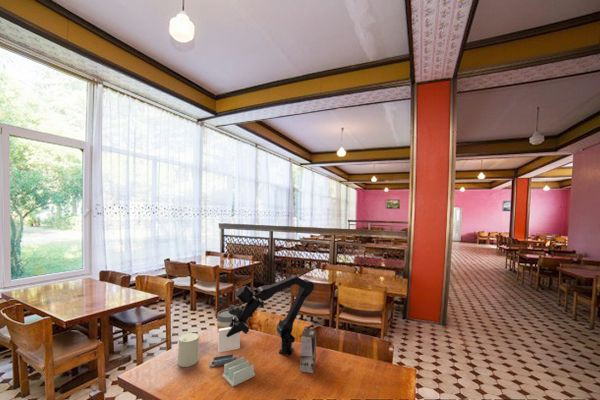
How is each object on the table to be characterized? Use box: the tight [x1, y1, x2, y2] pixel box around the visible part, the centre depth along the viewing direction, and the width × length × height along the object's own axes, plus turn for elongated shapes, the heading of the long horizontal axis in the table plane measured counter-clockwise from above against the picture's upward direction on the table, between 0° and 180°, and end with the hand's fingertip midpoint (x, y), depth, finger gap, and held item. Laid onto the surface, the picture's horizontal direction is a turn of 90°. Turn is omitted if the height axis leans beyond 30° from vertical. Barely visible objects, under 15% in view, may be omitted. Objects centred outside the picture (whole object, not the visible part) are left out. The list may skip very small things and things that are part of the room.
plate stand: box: [208, 353, 238, 369], centre depth 126 cm, size 13×4×2 cm, turn 112°
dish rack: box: [222, 356, 256, 387], centre depth 117 cm, size 11×9×5 cm
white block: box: [217, 327, 241, 353], centre depth 126 cm, size 10×2×10 cm, turn 115°
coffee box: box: [299, 328, 317, 374], centre depth 125 cm, size 9×6×16 cm
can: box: [176, 332, 200, 368], centre depth 127 cm, size 9×9×12 cm
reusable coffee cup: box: [216, 308, 233, 331], centre depth 149 cm, size 13×13×15 cm
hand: (226, 335), depth 126 cm, fingers closed on white block, 2 cm apart
